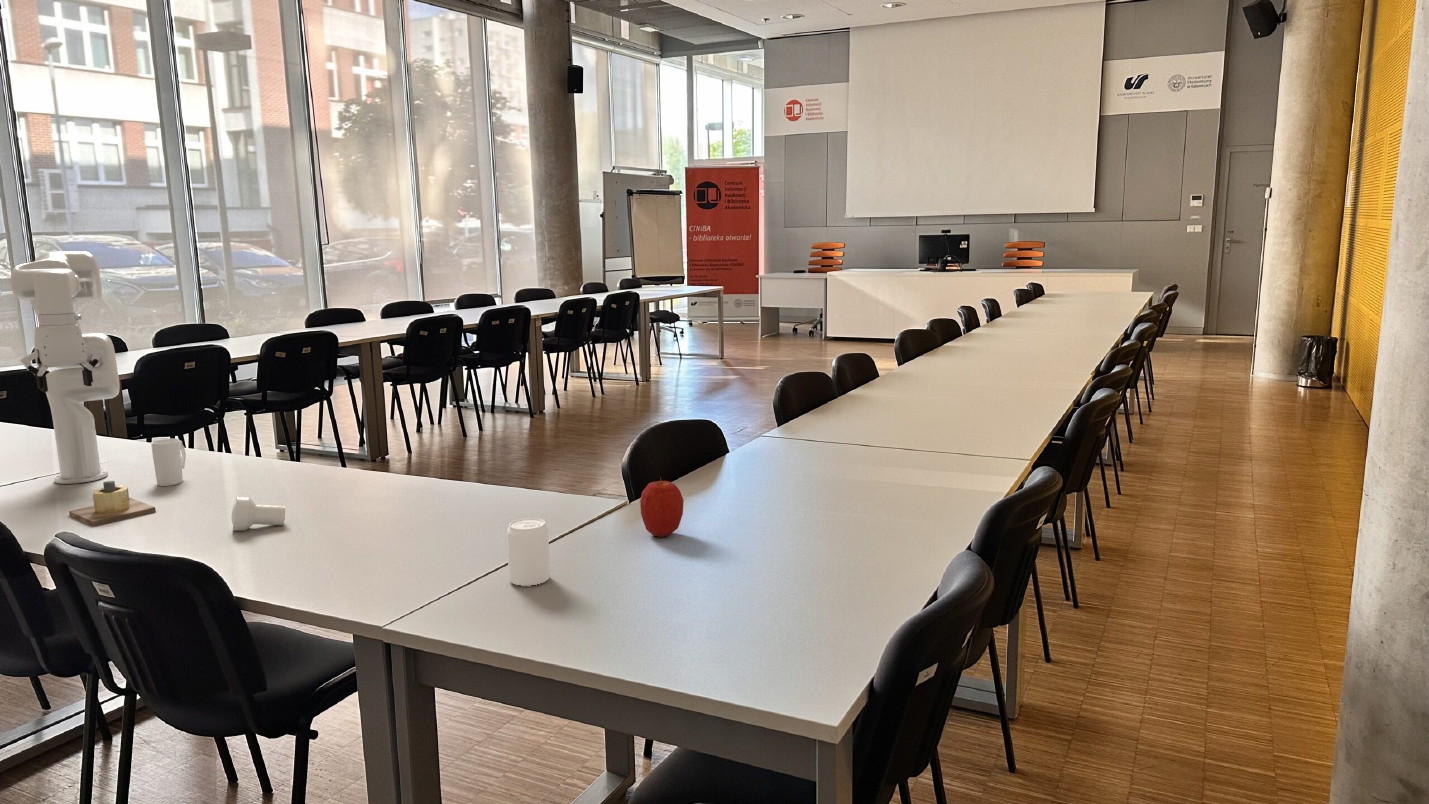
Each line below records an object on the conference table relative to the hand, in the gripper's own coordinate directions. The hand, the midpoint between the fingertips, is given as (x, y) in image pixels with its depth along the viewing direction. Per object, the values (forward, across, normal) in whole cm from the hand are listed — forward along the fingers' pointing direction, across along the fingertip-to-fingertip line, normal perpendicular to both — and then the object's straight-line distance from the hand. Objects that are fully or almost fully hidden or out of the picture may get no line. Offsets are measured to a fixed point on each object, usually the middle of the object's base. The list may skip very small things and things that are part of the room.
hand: (66, 388), depth 234 cm
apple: (+31, -68, +138) cm, 157 cm away
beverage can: (+31, -31, +134) cm, 141 cm away
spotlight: (+31, -16, +56) cm, 66 cm away
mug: (+31, -24, -3) cm, 39 cm away
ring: (+29, -1, +16) cm, 33 cm away
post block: (+30, -1, +16) cm, 34 cm away
